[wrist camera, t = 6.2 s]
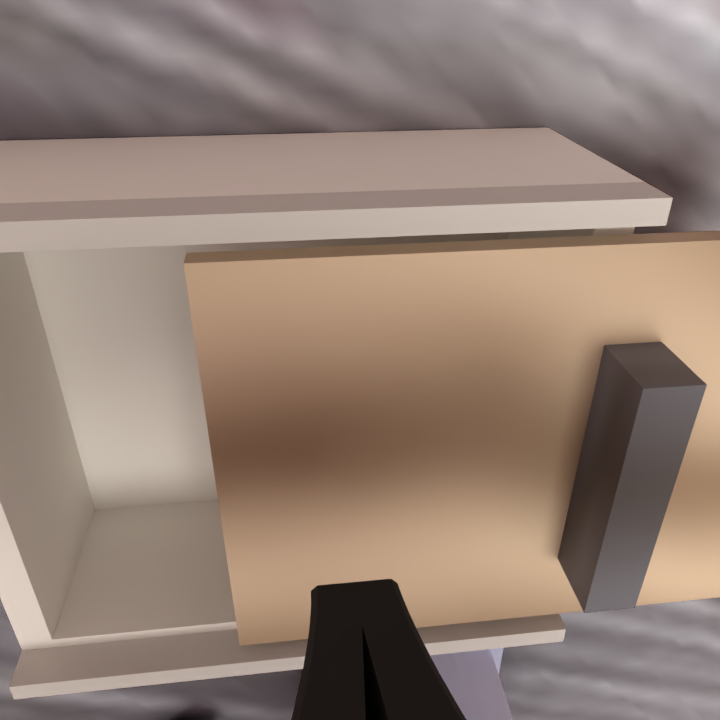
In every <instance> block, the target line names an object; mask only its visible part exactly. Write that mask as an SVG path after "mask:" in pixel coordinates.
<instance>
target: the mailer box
mask: <svg viewBox="0 0 720 720" xmlns="http://www.w3.org/2000/svg"><path fill="white" fill-rule="evenodd" d="M672 200H673V197H671V196H669V195H667V194H665V193H664V192H662V191H660V190H658V189H657V188H655V187H653V186H651V185H649V184H648V183H646V182H644V181H642V180H640V179H639V178H637V177H635V176H633V175H632V174H630V173H628V172H626V171H624V170H623V169H621V168H619V167H617V166H616V165H614V164H612V163H610V162H608V161H607V160H605V159H603V158H601V157H600V156H598V155H596V154H594V153H592V152H591V151H589V150H587V149H585V148H584V147H582V146H580V145H578V144H576V143H575V142H573V141H571V140H569V139H568V138H566V137H564V136H562V135H560V134H559V133H557V132H555V131H553V130H552V129H550V128H548V127H544V128H503V129H462V130H420V131H379V132H338V133H297V134H256V135H214V136H173V137H132V138H91V139H49V140H8V141H0V598H1V601H2V603H3V606H4V608H5V610H6V613H7V615H8V618H9V620H10V622H11V625H12V627H13V630H14V632H15V634H16V637H17V639H18V642H19V644H20V646H21V649H22V652H21V655H20V658H19V660H18V663H17V666H16V669H15V671H14V674H13V677H12V679H11V682H10V685H9V689H10V691H11V693H12V696H13V698H14V699H23V698H32V697H42V696H51V695H61V694H70V693H80V692H89V691H99V690H108V689H117V688H127V687H136V686H146V685H155V684H165V683H174V682H184V681H193V680H202V679H212V678H221V677H231V676H240V675H250V674H259V673H269V672H278V671H287V670H297V669H303V666H304V660H305V654H306V648H307V642H308V639H301V640H292V641H282V642H272V643H262V644H252V645H242V646H240V645H239V638H238V631H237V625H236V618H235V611H234V604H233V598H232V591H231V584H230V577H229V570H228V564H227V557H226V550H225V543H224V536H223V530H222V523H221V516H220V509H219V503H218V496H217V489H216V482H215V475H214V469H213V462H212V455H211V448H210V442H209V435H208V428H207V421H206V414H205V408H204V401H203V394H202V387H201V380H200V374H199V367H198V360H197V353H196V347H195V340H194V333H193V326H192V319H191V313H190V306H189V299H188V292H187V285H186V279H185V272H184V265H183V263H184V260H185V256H186V253H193V252H217V251H241V250H265V249H289V248H313V247H337V246H361V245H385V244H409V243H432V242H456V241H480V240H504V239H528V238H552V237H576V236H600V235H624V234H633V233H634V228H635V227H645V226H666V224H667V220H668V216H669V212H670V208H671V204H672ZM416 629H417V631H418V633H419V635H420V637H421V639H422V641H423V643H424V645H425V647H426V649H427V651H428V653H429V655H439V654H448V653H458V652H467V651H476V650H486V649H495V648H505V647H514V646H524V645H533V644H543V643H552V642H562V641H563V639H564V635H565V631H566V628H565V626H564V624H563V621H562V619H561V617H560V615H559V613H558V614H548V615H538V616H528V617H518V618H509V619H499V620H489V621H479V622H469V623H459V624H449V625H440V626H430V627H420V628H416Z"/></svg>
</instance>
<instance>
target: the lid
mask: <svg viewBox="0 0 720 720" xmlns="http://www.w3.org/2000/svg"><path fill="white" fill-rule="evenodd" d="M183 265H184V272H185V279H186V285H187V292H188V299H189V306H190V313H191V319H192V326H193V333H194V340H195V347H196V353H197V360H198V367H199V374H200V380H201V387H202V394H203V401H204V408H205V414H206V421H207V428H208V435H209V442H210V448H211V455H212V462H213V469H214V475H215V482H216V489H217V496H218V503H219V509H220V516H221V523H222V530H223V536H224V543H225V550H226V557H227V564H228V570H229V577H230V584H231V591H232V598H233V604H234V611H235V618H236V625H237V631H238V638H239V645H240V646H242V645H252V644H262V643H272V642H282V641H292V640H301V639H308V635H309V626H310V614H311V590H313V589H314V588H315V587H316V586H317V585H327V584H338V583H349V582H360V581H371V580H382V579H392V580H394V581H395V582H397V583H398V586H399V589H400V592H401V594H402V597H403V599H404V602H405V604H406V606H407V609H408V611H409V613H410V616H411V618H412V620H413V622H414V624H415V626H416V628H420V627H430V626H440V625H449V624H459V623H469V622H479V621H489V620H499V619H509V618H518V617H528V616H538V615H548V614H558V613H568V612H578V611H583V612H584V613H588V612H598V611H607V610H617V609H627V608H635V606H637V605H647V604H657V603H667V602H676V601H686V600H696V599H706V598H716V597H720V231H696V232H672V233H648V234H624V235H600V236H576V237H552V238H528V239H504V240H480V241H456V242H432V243H409V244H385V245H361V246H337V247H313V248H289V249H265V250H241V251H217V252H193V253H186V256H185V260H184V263H183Z"/></svg>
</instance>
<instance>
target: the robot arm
mask: <svg viewBox="0 0 720 720" xmlns="http://www.w3.org/2000/svg"><path fill="white" fill-rule="evenodd" d="M502 654H503V648H495V649H486V650H476V651H467V652H458V653H448V654H439V655H429V653H428V651H427V649H426V647H425V645H424V643H423V641H422V639H421V637H420V635H419V633H418V631H417V629H416V626H415V624H414V622H413V620H412V618H411V616H410V613H409V611H408V609H407V606H406V604H405V602H404V599H403V597H402V594H401V592H400V589H399V586H398V583H397V582H395V581H394V580H392V579H382V580H371V581H360V582H349V583H338V584H327V585H317V586H316V587H315V588H314V589H313V590H311V614H310V626H309V635H308V642H307V648H306V654H305V660H304V666H303V671H302V676H301V680H300V685H299V689H298V694H297V698H296V703H295V707H294V712H293V716H292V720H513V718H512V715H511V712H510V709H509V705H508V702H507V699H506V696H505V693H504V690H503V687H502V684H501V681H500V678H499V671H500V665H501V660H502Z"/></svg>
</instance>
